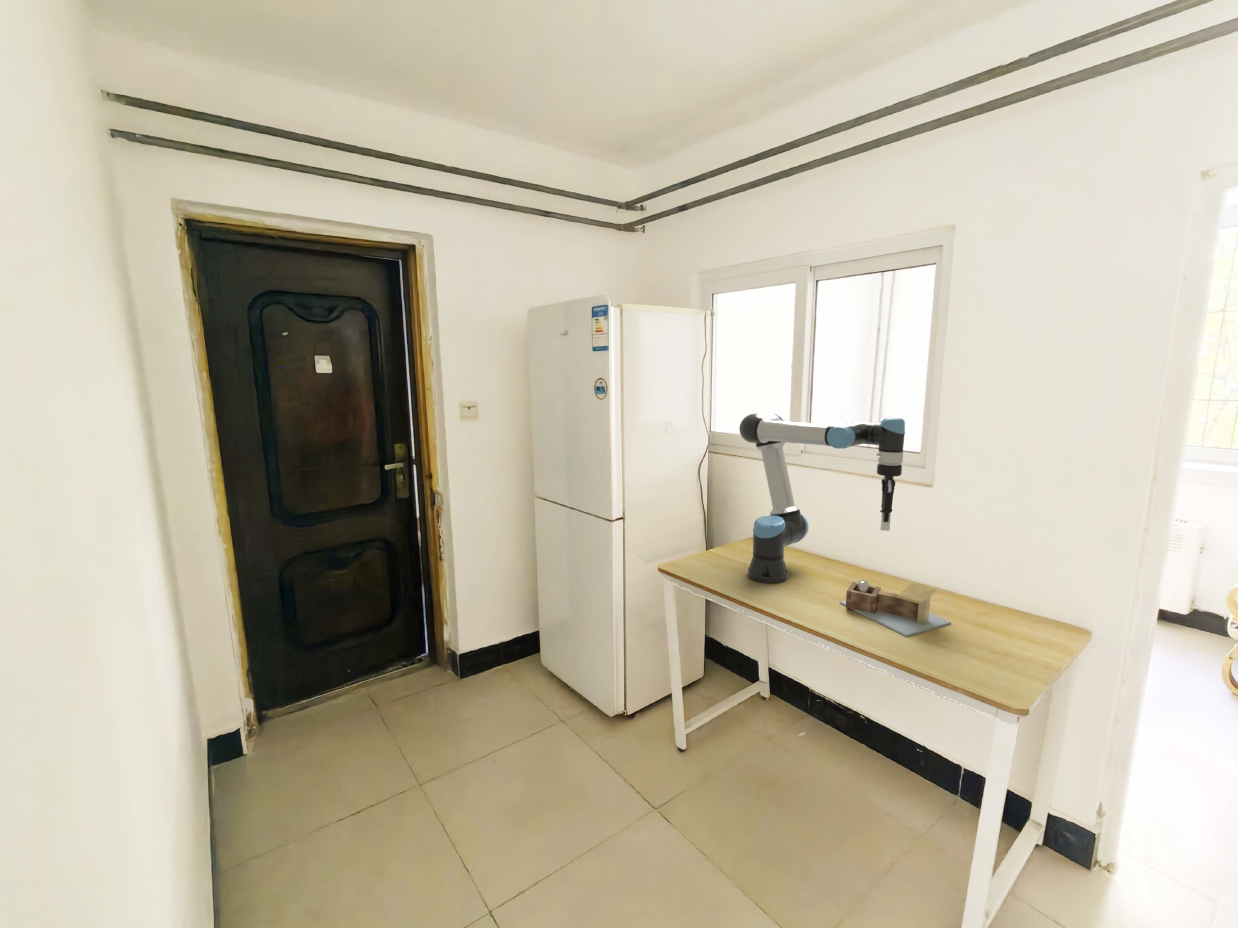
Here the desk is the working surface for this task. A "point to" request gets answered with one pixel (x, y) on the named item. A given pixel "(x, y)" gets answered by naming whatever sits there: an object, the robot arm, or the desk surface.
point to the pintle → (863, 586)
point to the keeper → (918, 600)
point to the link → (879, 602)
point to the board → (903, 622)
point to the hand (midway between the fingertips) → (884, 529)
